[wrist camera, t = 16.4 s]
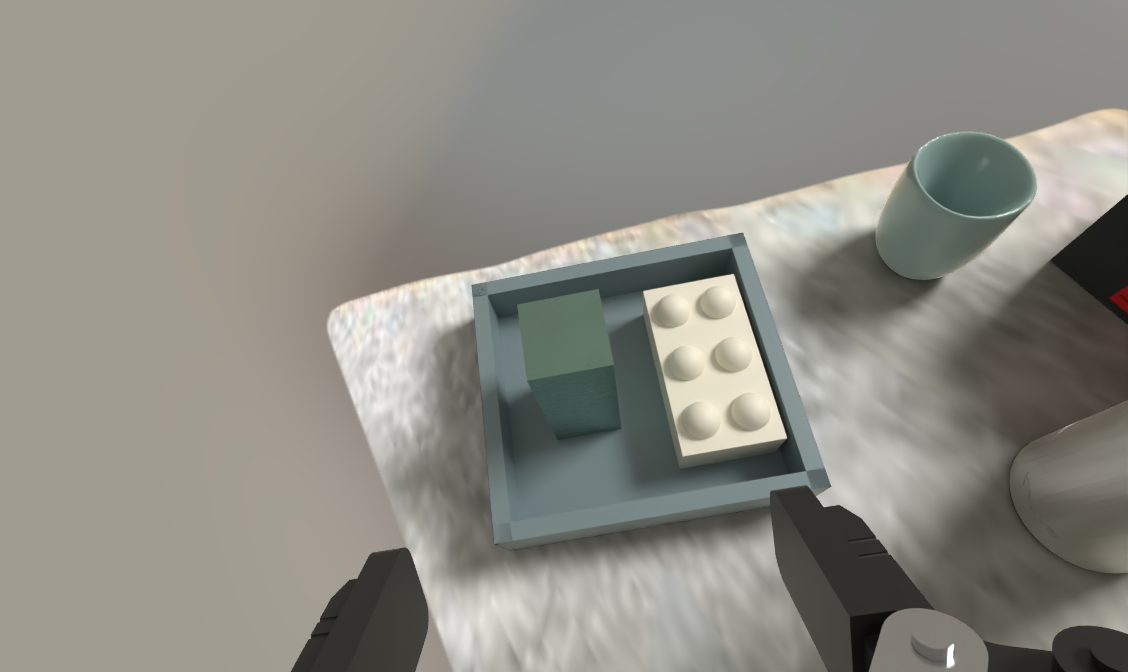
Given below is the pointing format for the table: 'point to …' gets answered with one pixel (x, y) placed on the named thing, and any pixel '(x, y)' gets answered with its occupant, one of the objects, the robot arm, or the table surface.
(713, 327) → the egg carton
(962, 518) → the table surface
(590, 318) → the tea tin
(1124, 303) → the cleaning product box
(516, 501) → the tray
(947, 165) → the cup
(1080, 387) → the table surface
